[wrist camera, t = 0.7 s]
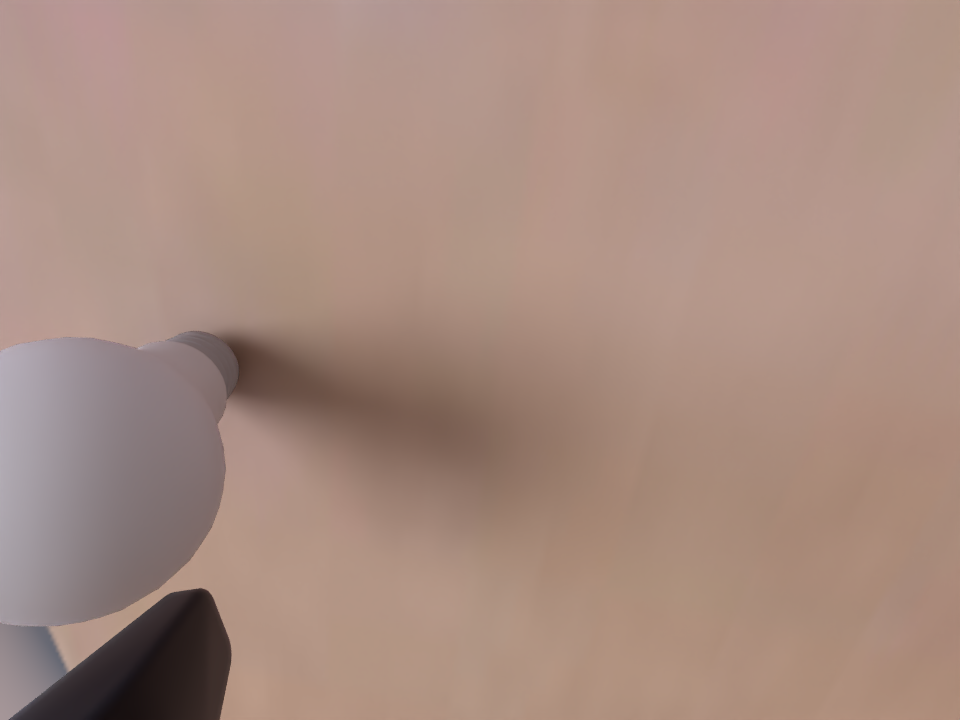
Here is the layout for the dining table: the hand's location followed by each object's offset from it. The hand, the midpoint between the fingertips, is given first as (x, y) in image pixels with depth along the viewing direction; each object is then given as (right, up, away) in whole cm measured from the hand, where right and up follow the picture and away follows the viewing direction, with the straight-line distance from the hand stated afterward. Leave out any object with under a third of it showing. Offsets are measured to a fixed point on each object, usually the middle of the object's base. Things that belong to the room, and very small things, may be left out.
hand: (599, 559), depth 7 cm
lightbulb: (-10, +2, +15) cm, 18 cm away
